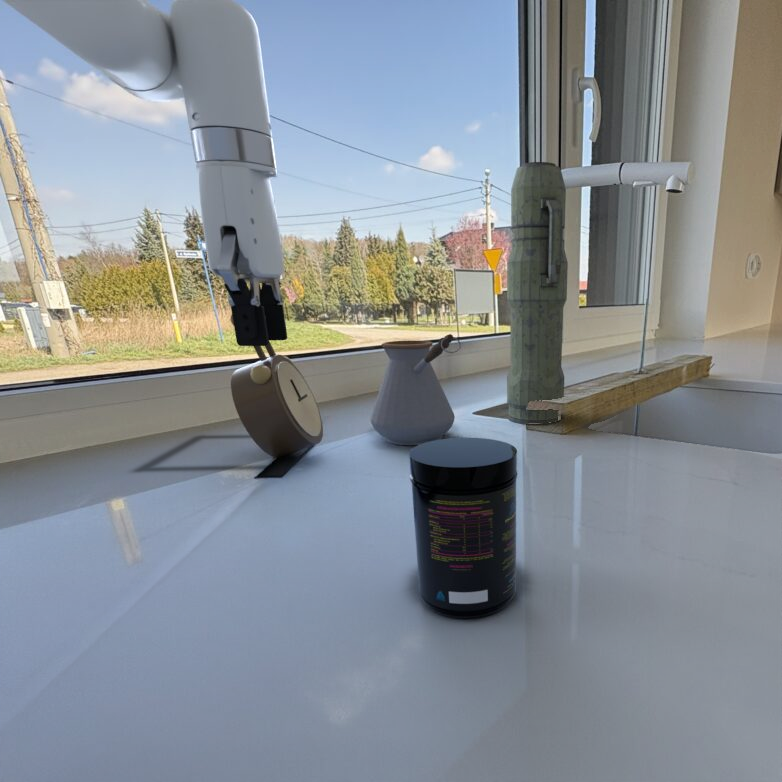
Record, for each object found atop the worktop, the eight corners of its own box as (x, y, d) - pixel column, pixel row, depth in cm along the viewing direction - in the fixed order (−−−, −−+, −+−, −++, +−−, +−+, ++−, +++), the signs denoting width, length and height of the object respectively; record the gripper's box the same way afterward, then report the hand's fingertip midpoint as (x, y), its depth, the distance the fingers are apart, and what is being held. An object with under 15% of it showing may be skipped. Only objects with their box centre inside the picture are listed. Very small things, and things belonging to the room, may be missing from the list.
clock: (189, 326, 58) (235, 308, 58) (231, 320, 68) (271, 304, 68) (267, 469, 64) (310, 454, 64) (296, 444, 74) (333, 430, 74)
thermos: (539, 408, 97) (543, 174, 84) (579, 422, 88) (590, 161, 75) (493, 414, 93) (490, 169, 80) (530, 429, 84) (533, 154, 71)
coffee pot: (363, 433, 81) (351, 324, 76) (438, 425, 86) (433, 321, 81) (409, 475, 64) (399, 336, 58) (501, 461, 69) (500, 332, 63)
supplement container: (506, 569, 43) (505, 434, 39) (527, 616, 37) (528, 463, 33) (416, 578, 42) (406, 440, 38) (422, 629, 36) (411, 470, 32)
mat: (142, 480, 62) (141, 477, 62) (200, 446, 75) (199, 443, 75) (282, 477, 63) (281, 474, 63) (315, 444, 76) (314, 441, 76)
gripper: (231, 172, 65) (257, 336, 72) (152, 136, 49) (195, 351, 56) (297, 173, 66) (317, 336, 72) (241, 138, 50) (272, 351, 56)
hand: (263, 341), depth 64 cm, fingers closed on clock, 5 cm apart
